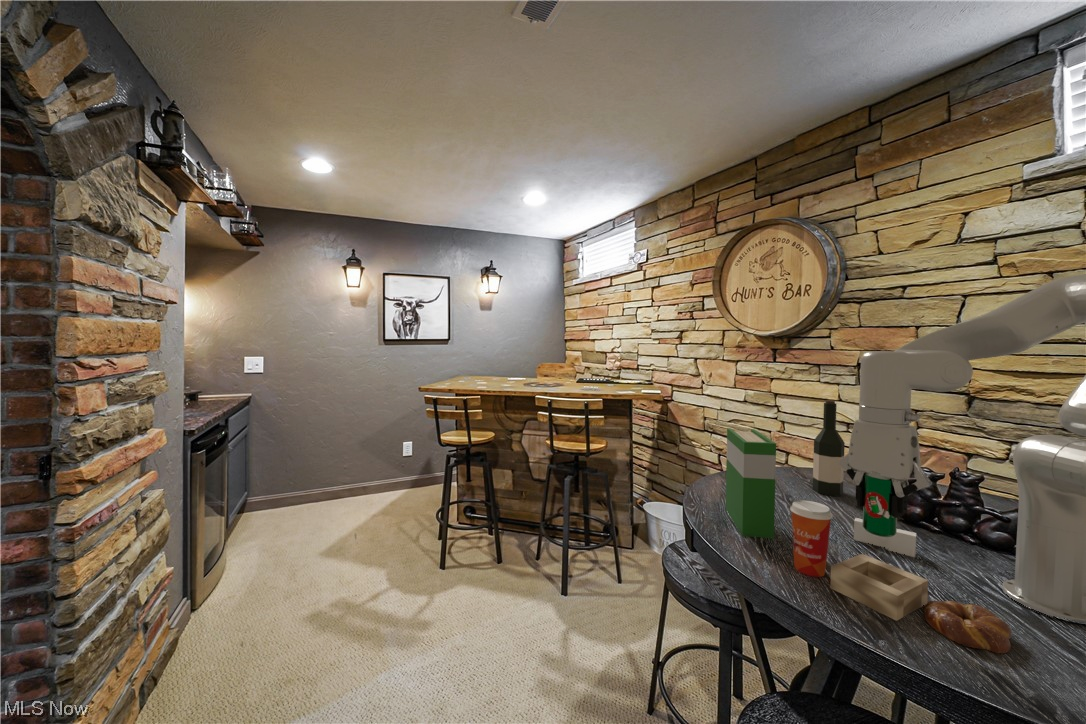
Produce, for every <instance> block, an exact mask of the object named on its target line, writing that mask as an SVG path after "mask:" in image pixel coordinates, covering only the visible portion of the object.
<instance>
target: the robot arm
mask: <svg viewBox="0 0 1086 724" xmlns="http://www.w3.org/2000/svg"><path fill="white" fill-rule="evenodd" d="M1082 324H1084V325H1085V327H1086V273H1085V274H1077V275H1070V276H1066V277H1060V278H1057V279H1053V280H1051V281H1048V282H1047V283H1044V284H1042V285H1040V286H1038V287H1036V288H1034V289H1032V290H1030V291H1028V292H1027V293H1024V294H1022V295H1020V296H1018V297H1016V298H1014V299H1013V300H1011V301H1008V302H1007V303H1005V304H1002V305H1001V306H999V307H997V308H995V309H994V310H993V309H992V310H991V311H989V312H987V313H985V314H982V315H979V316H976V317H972V318H969V319H967V320H963V321H961V322H958V323H956V324H953V325H950V326H947V327H944V328H941V329H938V330H935V331H932V332H929V333H928V334H924V335H923V336H921V337H918V338H915V339H914V340H912V341H910V342H908V343H906V344H904V345H902V346H901V347H899V348H896V349H895V350H891V351H890V350H889V351H888V350H887V351H886V350H885V351H884V350H880V351H879V350H878V351H877V350H875V351H872V350H871V351H867V352H864V353H863V354H862V356H861V359H860V372H859V373H860V377H859V379H860V380H859V401H858V402H859V403H858V405H859V406H858V409H859V410H858V419H855V421H854V423H853V427H852V429H851V430H852V431H851V435H850V439H849V446H848V453H847V454H846V455H844V458H842V459H841V460H840V461H839V462H838V463H839V465H840V466H841V467H842V468H843V469H844V471H845V472H846V474H847V475H848V476H849V478H850V479H851V480H852V483H853V485H855V500H856V506H857V507H863V503H864V478H865V473H872V472H871V471H873V472H877V473H880V475H881V476H884V477H886V478H889V479H892V482H893V486H894V489H895V495H894V496H892V508H891V516H892V517H895V518H897V519H898V518H900V517H903V516H904V515H905V514H907V512H908V497H909V496H910V495H912V494H914V493H915V492H917V491H919V490H922V489H924V488H925V489H926V488H927V487H930V486H932V484H933V482H932V480H931V479H930V478H929V477H928V476H927V474H926V473H925V472H924V470H923V469H922V468H921V466H922V465H921V463H922V462H921V450H920V449H921V448H920V442H919V436H918V431H917V427H916V426H914V425H911V424H912V422H917V423H918V422H919V421H920V414H917V413H914V412H913V409H911V403H912V390H923V391H930V392H937V393H938V392H939V393H945V392H947V393H948V392H952V391H957V390H959V389H961V388H964V387H965V386H966V385H967V384H969V382H970V381H971V379H972V377H973V374H974V370H973V366H972V364H971V362H970V361H973V360H981V359H990V358H991V359H992V358H997V357H1005V356H1008V355H1009V356H1010V355H1014V354H1018V353H1022V352H1025V351H1028V350H1029V349H1032V348H1033V347H1034V346H1037V345H1040V344H1041V343H1043V342H1045V341H1046V340H1049V339H1051V338H1053V337H1055V336H1057V335H1059V334H1062V333H1064V332H1066V331H1067V330H1070V329H1071V328H1074V327H1076V326H1078V325H1082ZM1057 417H1058V421H1059V423H1060V426H1062V427H1063V428H1064V429H1065V430H1067V431H1068V432H1071V433H1073V434H1074V435H1075V434H1076V435H1078V436H1083V437H1086V374H1085V375H1084V376H1083V378H1082V379H1081V381H1080V382H1079V383H1078V384H1077V386H1076V387H1075V388H1074V389H1073V390H1072V392H1071V393H1070V394H1069V396H1068V397H1067V398H1066V400H1065V401H1064V402H1063V403H1062V406H1061V407H1060V409H1059V412H1058V416H1057ZM1012 461H1013V462H1012V463H1013V467H1014V468H1013V469H1014V472H1015V476H1016V482H1017V488H1018V512H1017V524H1016V526H1017V528H1016V529H1017V530H1016V545H1015V546H1016V547H1015V548H1016V549H1015V567H1014V568H1015V569H1014V579H1008V580H1005V581H1003V582H1002V588H1001V589H1002V591H1003V593H1004V594H1005V595H1006V594H1007V595H1008V596H1009V597H1008V596H1007V595H1006V596H1007V597H1008V598H1009V599H1011V598H1012V599H1013V601H1014V600H1015V601H1017V602H1019V603H1021V604H1023V605H1025V606H1027V607H1030V608H1032V609H1034V610H1037V611H1039V612H1042V613H1044V614H1047V615H1050V616H1055V617H1061V618H1066V619H1070V620H1075V621H1082V622H1086V439H1085V440H1084V439H1080V438H1073V437H1069V436H1064V435H1057V434H1034V435H1030V436H1029V437H1028V436H1027V437H1026V438H1023V439H1022V440H1021V441H1020V442H1018V443H1017V445H1016V446H1015V448H1014V450H1013V453H1012ZM909 479H915V480H916V481H915V482H914V483H911V484H910V483H909ZM1012 599H1011V600H1012ZM1015 601H1014V602H1015ZM1017 602H1016V603H1017ZM1019 603H1018V604H1019ZM1021 604H1020V605H1021ZM1023 605H1022V606H1023ZM1025 606H1024V607H1025ZM1027 607H1026V608H1027ZM1034 610H1033V611H1034ZM1039 612H1038V613H1039ZM1044 614H1043V615H1044ZM1047 615H1046V616H1047Z"/></svg>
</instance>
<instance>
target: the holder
mask: <svg viewBox="0 0 1086 724" xmlns="http://www.w3.org/2000/svg"><path fill="white" fill-rule="evenodd" d="M829 588H830V589H832V590H834V591H835V592H837V593H840V594H841V595H844V596H846V597H847V598H850V599H851V600H854V601H855V602H857V603H859V604H862V605H864V606H866V607H868V608H870V609H871V610H873V611H875V612H878V613H880V614H882V615H883V616H886V617H888V618H890V619H892V620H894V621H896V622H898V621H899V620H901V619H902V618H904V617H906V616H908V615H909V614H911V613H913V612H916V611H917V610H919V609H920V608H922V607H924V606H925V604H927V603H928V598H929V597H928V594H929V591H928V590H929V579H926V578H924V577H921V576H918V575H916V574H913V573H911V572H909V571H906V570H903V569H902V568H899V567H897V566H894V565H892V564H888V563H886V562H883V561H882V560H879V559H876V558H874V557H871V556H869V555H866V554H863V553H860V554H857V555H855V556H853V557H849V558H848V559H845V560H843V561H840V562H837V563H835V564H833V565H831V566H830V585H829ZM923 605H924V606H923ZM918 608H919V609H918Z"/></svg>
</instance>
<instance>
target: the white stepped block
mask: <svg viewBox="0 0 1086 724" xmlns="http://www.w3.org/2000/svg"><path fill="white" fill-rule="evenodd" d="M853 524H854V525H853V541H857V542H860V543H861V542H862V543H865V544H868V543H869V545H872V544H873V546H876V547H880V546H881V548H884V547H885V548H884V549H885V550H887V549H888V550H887V551H889V552H892V551H893V552H894V553H896V552H897V554H901V555H904V554H905V555H904V556H908V557H912V558H916V550H917V549H916V548H917V547H916V546H917V532H913V531H909V530H905V529H900V528H897V530H896V534H895V535H894V536H892V537H882V536H877V535H874V534H871V533H869V532H867V531H866V530H865V529H864V527H863V518H858V517H854V523H853ZM893 552H892V553H893Z"/></svg>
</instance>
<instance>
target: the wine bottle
mask: <svg viewBox="0 0 1086 724" xmlns="http://www.w3.org/2000/svg"><path fill="white" fill-rule="evenodd" d="M835 402H836V400H829V399H828V400H825V402H824V403H823V425H822V426H823V427H822V429H821V430H820V432H819V433H818V434H817V436H816V437H815V438H814V440H813V458H812V460H813V461H812V462H813V464H812V466H813V467H812V468H813V469H812V490H813V491H814V492H816V493H818V494H821V495H826V496H831V497H834V496H835V497H841V496H842V495H843V494H844V473H845V472H844V471H845V470H844V469H843V468H842V467H841V466H840V465H839V463H838V462H839V461H840V460H841V459H842V458H844V457H845V445H846V444H845V443H846V442H845V441H844V439H843V438H842V436H841V435H840V434H839V432H838V430H837V403H835Z"/></svg>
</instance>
